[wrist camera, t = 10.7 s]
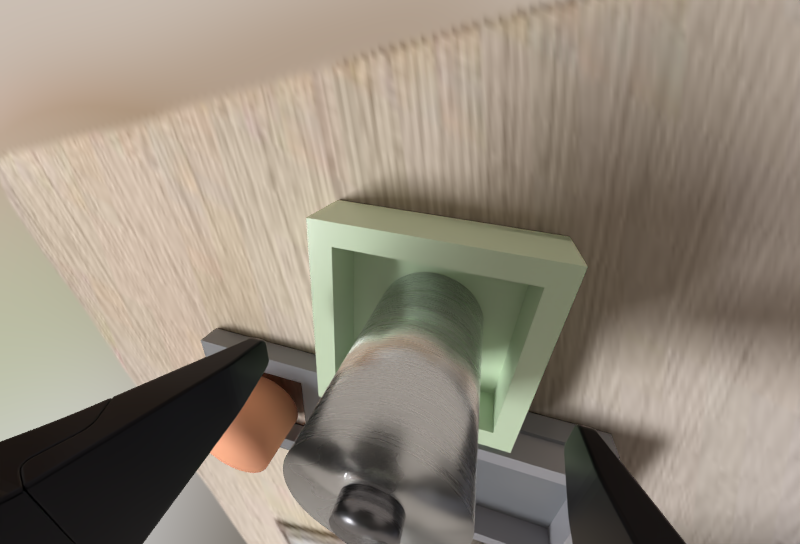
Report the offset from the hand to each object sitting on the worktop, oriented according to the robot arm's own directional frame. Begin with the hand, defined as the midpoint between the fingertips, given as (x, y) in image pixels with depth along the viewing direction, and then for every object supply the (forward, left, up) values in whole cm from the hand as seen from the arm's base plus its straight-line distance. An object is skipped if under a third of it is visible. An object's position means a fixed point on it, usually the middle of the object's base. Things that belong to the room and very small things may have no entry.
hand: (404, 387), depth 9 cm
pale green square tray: (0, 0, -4) cm, 4 cm away
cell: (0, 0, -4) cm, 4 cm away
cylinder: (+8, +8, -3) cm, 11 cm away
